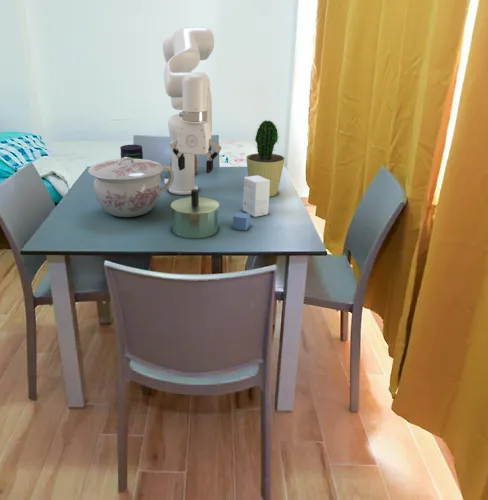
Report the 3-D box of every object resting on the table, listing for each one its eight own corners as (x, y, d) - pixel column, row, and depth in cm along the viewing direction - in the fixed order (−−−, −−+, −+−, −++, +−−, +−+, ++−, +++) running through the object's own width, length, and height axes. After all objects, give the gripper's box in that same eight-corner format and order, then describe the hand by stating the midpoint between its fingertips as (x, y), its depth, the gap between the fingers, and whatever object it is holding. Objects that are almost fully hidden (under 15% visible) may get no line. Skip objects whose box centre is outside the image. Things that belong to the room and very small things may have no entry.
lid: (162, 212, 160) (161, 194, 158) (183, 197, 174) (182, 181, 171) (208, 219, 154) (208, 200, 152) (226, 203, 168) (226, 186, 165)
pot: (165, 234, 164) (164, 210, 160) (184, 219, 176) (183, 196, 173) (207, 241, 158) (207, 216, 154) (223, 225, 171) (224, 202, 167)
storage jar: (127, 184, 216) (125, 150, 210) (119, 178, 224) (116, 146, 218) (147, 180, 221) (146, 147, 214) (138, 175, 228) (137, 143, 222)
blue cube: (233, 228, 167) (233, 216, 166) (237, 224, 171) (237, 212, 169) (245, 230, 166) (246, 218, 164) (249, 226, 170) (250, 213, 168)
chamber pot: (77, 219, 177) (71, 163, 169) (115, 196, 201) (111, 146, 192) (147, 229, 168) (144, 170, 159) (178, 204, 191) (176, 151, 182)
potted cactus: (237, 193, 202) (239, 119, 190) (257, 184, 213) (261, 114, 200) (269, 201, 193) (274, 124, 181) (289, 191, 204) (294, 118, 191)
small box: (268, 214, 180) (270, 180, 174) (254, 217, 177) (255, 182, 172) (256, 207, 186) (258, 174, 181) (242, 210, 184) (243, 176, 178)
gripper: (164, 117, 152) (166, 171, 159) (216, 120, 145) (216, 176, 152) (175, 113, 158) (176, 165, 165) (225, 116, 152) (224, 170, 159)
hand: (195, 170), depth 159 cm, fingers open, 9 cm apart
